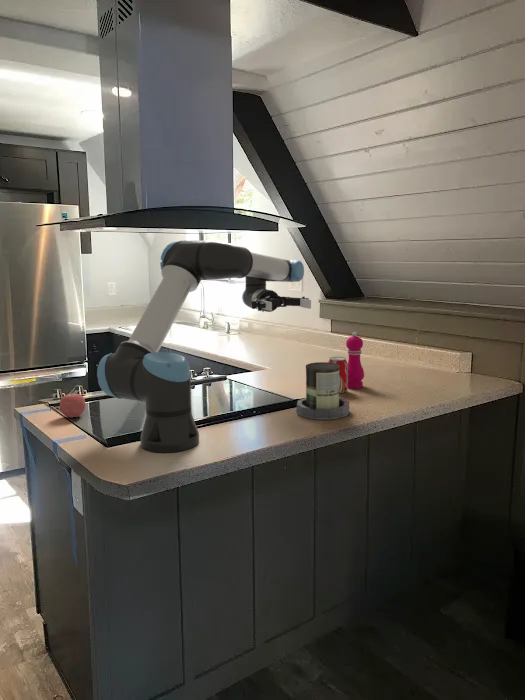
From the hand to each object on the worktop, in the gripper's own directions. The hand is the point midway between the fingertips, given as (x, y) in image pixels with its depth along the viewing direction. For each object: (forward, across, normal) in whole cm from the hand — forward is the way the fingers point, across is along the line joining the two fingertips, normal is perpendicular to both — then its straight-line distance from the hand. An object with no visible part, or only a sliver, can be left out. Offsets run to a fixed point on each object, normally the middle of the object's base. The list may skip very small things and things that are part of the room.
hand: (290, 305), depth 182 cm
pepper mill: (-11, -30, -32) cm, 45 cm away
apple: (-13, +67, -32) cm, 76 cm away
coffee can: (+14, -4, -32) cm, 35 cm away
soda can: (-7, -21, -32) cm, 39 cm away
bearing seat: (+14, -4, -32) cm, 35 cm away
